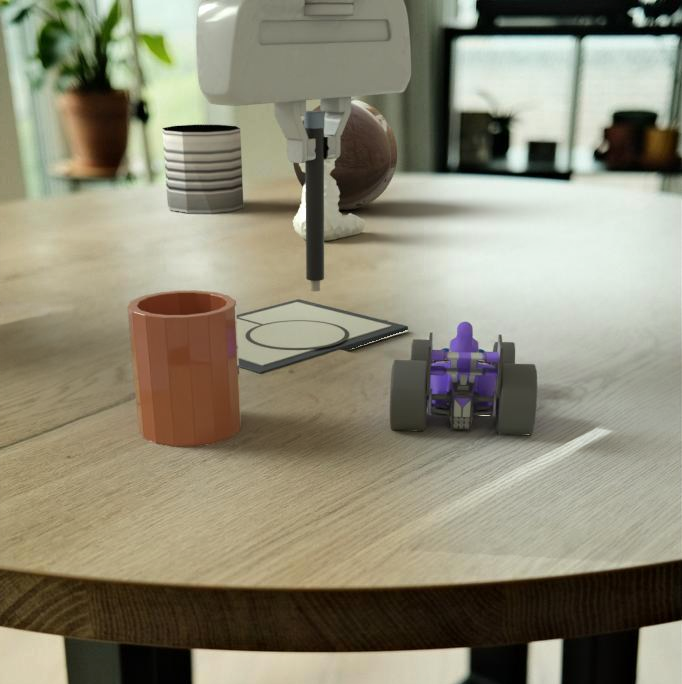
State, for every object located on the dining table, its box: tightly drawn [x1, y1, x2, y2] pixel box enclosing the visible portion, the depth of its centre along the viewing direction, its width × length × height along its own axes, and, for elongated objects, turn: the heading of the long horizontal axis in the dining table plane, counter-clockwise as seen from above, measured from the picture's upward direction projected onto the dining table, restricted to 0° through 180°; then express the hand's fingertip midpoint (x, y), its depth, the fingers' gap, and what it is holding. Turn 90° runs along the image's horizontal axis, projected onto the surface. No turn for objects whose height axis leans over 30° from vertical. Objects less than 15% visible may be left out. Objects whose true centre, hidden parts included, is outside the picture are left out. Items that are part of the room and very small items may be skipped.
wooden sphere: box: [292, 98, 398, 211], centre depth 146 cm, size 15×15×15 cm
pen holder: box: [127, 289, 242, 448], centre depth 67 cm, size 7×7×9 cm
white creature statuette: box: [292, 158, 366, 242], centre depth 128 cm, size 10×9×12 cm
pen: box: [303, 110, 325, 293], centre depth 83 cm, size 2×2×14 cm
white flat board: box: [237, 298, 409, 375], centre depth 89 cm, size 14×18×1 cm
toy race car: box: [389, 321, 538, 435], centre depth 73 cm, size 10×15×6 cm, turn 174°
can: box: [161, 123, 244, 215], centre depth 148 cm, size 11×11×12 cm
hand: (314, 160), depth 82 cm, fingers closed on pen, 1 cm apart
